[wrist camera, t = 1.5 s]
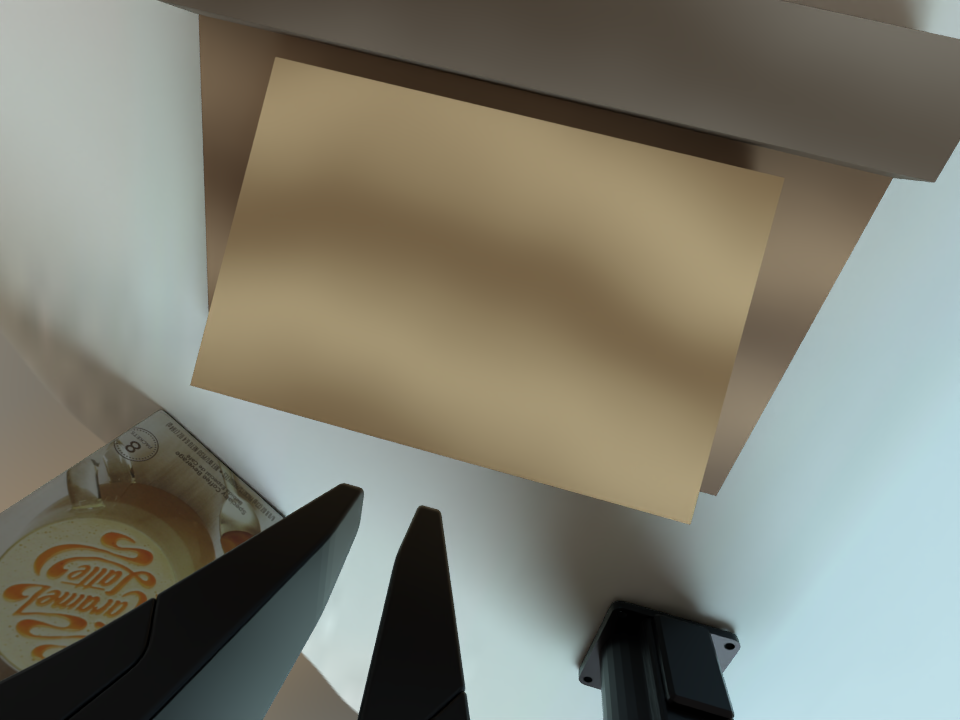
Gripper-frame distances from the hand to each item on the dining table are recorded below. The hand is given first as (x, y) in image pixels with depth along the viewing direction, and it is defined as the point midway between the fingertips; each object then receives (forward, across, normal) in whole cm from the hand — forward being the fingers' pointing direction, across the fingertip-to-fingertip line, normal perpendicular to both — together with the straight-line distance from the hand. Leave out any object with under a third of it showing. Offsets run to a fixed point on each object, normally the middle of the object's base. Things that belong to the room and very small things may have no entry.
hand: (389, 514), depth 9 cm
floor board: (+12, 0, -3) cm, 12 cm away
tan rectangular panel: (+8, 0, -2) cm, 8 cm away
